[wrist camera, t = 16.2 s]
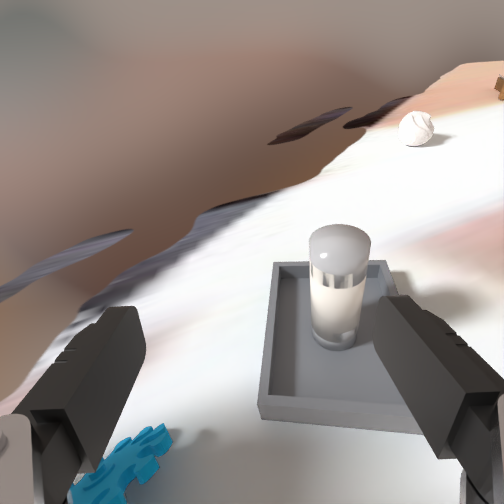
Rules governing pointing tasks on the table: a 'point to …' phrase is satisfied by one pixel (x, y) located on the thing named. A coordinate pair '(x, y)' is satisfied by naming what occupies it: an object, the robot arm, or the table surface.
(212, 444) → the table surface
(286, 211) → the table surface
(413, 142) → the white ball
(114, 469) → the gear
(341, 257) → the fuse
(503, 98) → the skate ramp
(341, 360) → the parts tray
